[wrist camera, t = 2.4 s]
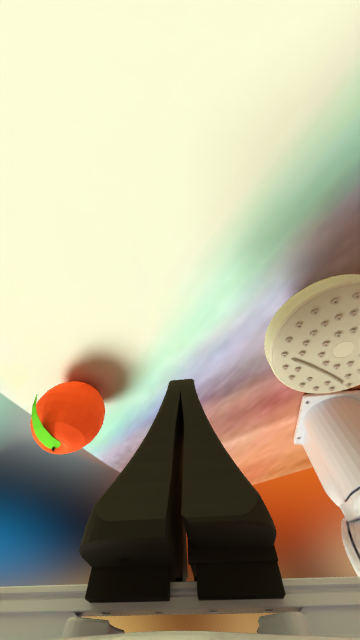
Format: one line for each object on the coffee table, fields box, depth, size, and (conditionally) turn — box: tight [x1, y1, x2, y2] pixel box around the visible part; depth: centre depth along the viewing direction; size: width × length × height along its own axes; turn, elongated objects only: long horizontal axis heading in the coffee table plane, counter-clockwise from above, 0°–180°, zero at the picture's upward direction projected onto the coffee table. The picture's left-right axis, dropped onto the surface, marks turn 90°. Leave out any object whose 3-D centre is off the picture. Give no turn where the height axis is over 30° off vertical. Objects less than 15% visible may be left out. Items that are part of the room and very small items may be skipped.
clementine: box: [31, 381, 105, 454], centre depth 23 cm, size 8×7×7 cm
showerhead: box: [264, 274, 360, 394], centre depth 17 cm, size 9×7×10 cm
